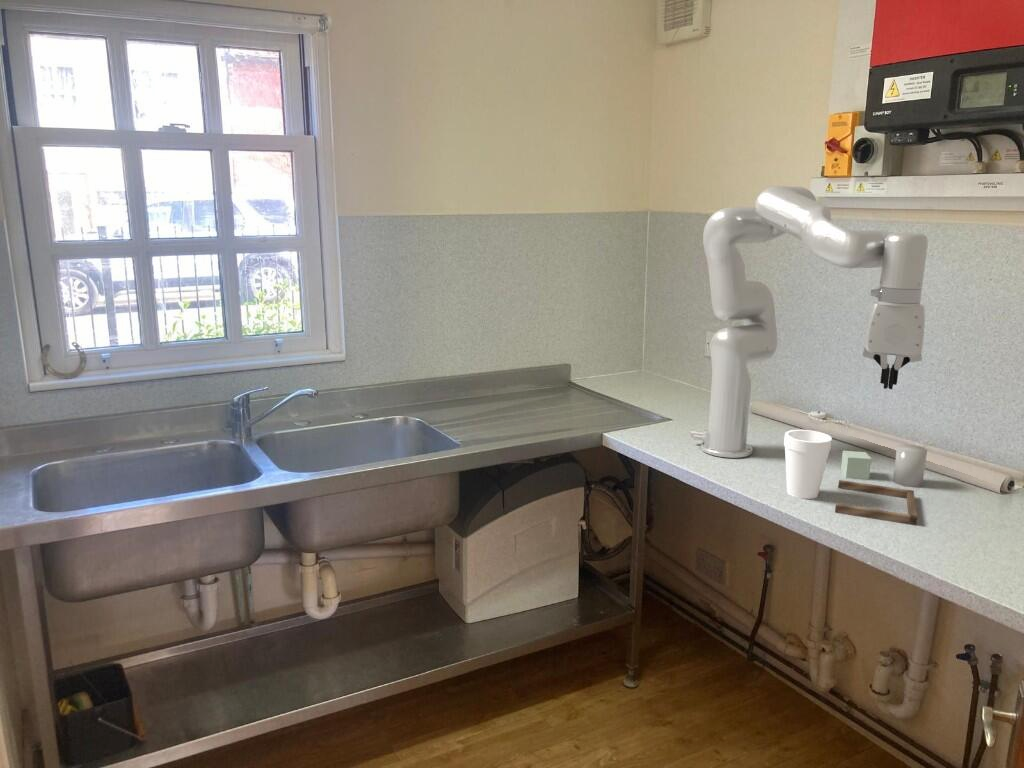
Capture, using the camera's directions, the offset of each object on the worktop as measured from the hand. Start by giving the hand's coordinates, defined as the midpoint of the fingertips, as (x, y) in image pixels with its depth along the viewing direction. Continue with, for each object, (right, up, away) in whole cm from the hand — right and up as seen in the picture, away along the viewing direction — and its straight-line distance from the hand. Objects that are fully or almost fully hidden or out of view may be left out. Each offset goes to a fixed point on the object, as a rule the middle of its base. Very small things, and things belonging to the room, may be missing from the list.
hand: (887, 387), depth 157 cm
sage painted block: (+4, -20, +23) cm, 31 cm away
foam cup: (-13, -23, +11) cm, 29 cm away
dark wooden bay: (0, -24, +6) cm, 25 cm away
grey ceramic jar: (+14, -22, +19) cm, 32 cm away
